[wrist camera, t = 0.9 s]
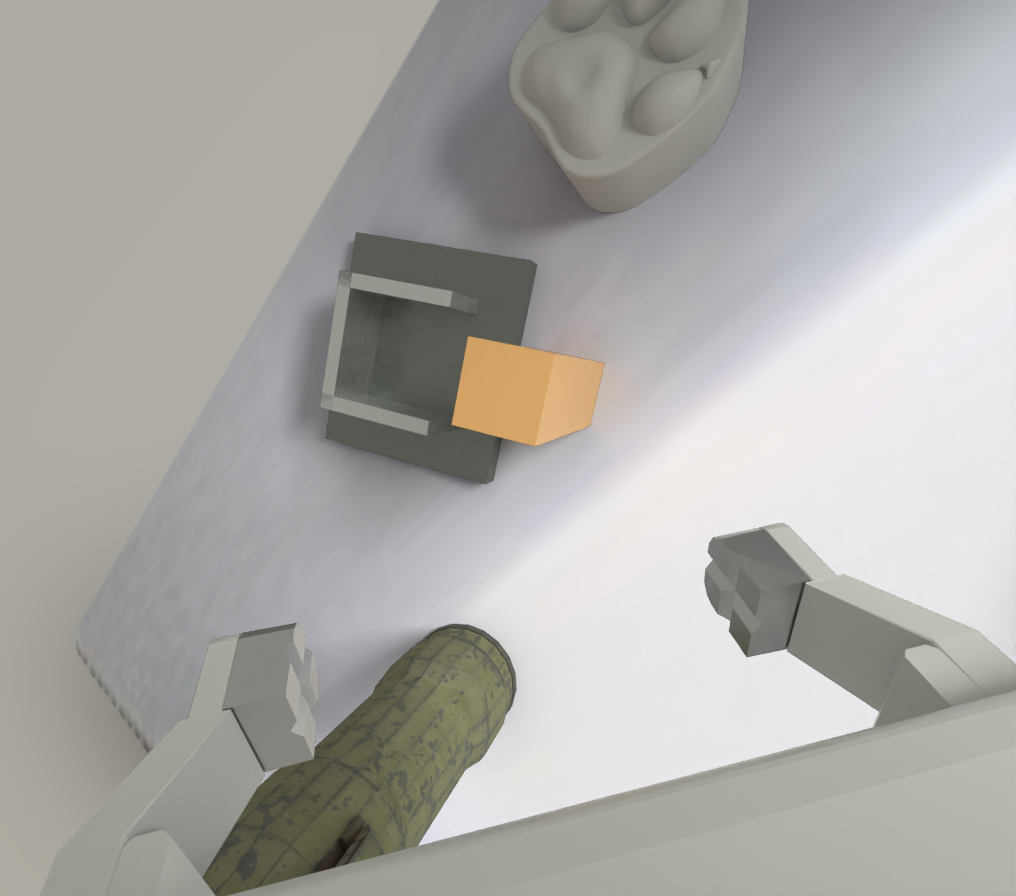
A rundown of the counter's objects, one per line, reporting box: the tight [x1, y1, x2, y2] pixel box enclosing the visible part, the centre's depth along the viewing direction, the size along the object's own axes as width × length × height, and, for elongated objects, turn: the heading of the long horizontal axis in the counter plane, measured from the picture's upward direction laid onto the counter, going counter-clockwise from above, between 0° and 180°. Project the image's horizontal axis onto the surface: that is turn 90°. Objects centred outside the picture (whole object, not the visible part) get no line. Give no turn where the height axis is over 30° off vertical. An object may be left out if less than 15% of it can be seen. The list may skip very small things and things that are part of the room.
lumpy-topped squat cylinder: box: [508, 0, 749, 213], centre depth 35 cm, size 10×13×9 cm
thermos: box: [202, 624, 516, 896], centre depth 31 cm, size 9×12×35 cm
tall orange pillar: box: [452, 336, 605, 446], centre depth 36 cm, size 4×4×14 cm
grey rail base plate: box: [320, 232, 537, 484], centre depth 42 cm, size 14×16×6 cm
